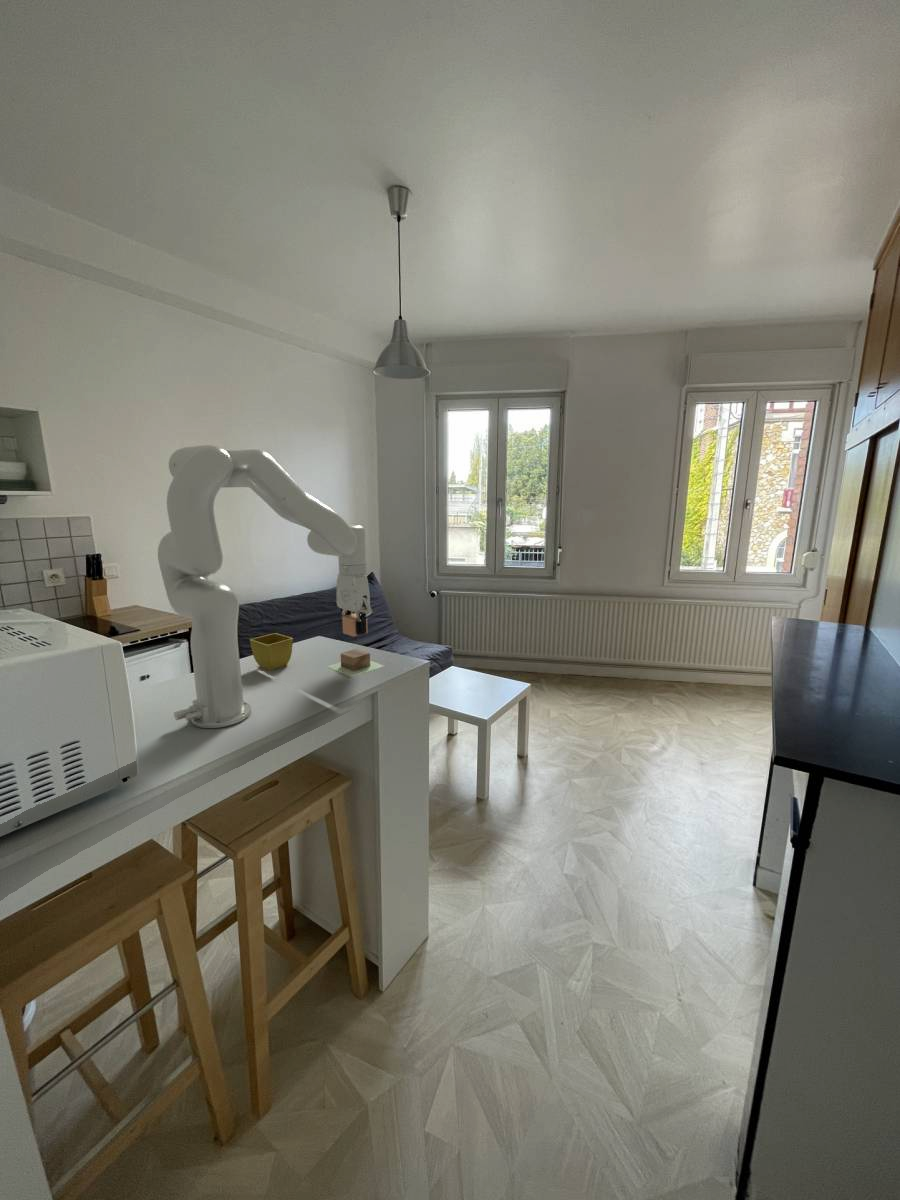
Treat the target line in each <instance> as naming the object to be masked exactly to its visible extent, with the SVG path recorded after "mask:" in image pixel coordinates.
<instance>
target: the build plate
mask: <svg viewBox="0 0 900 1200" xmlns="http://www.w3.org/2000/svg"><path fill="white" fill-rule="evenodd" d="M326 667H327V668H329V669H332V670H334V671H336V672H338V673H341V674H343V675H345V676H348V677H350V678H353V677H357V676H359V675H362V674H363V675H364V674H365V673H369V672H372V671H374V670H377V669H380V668H384V667H385V665H384V664H380V663H378V662H375V661H372V660H370V666H369V667H366V668H363V669H360V670H357V671H351V670H349V669H346V668H344V667H342V666H341V661H339V662H337V663H333V664H330V665H326Z"/></svg>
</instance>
